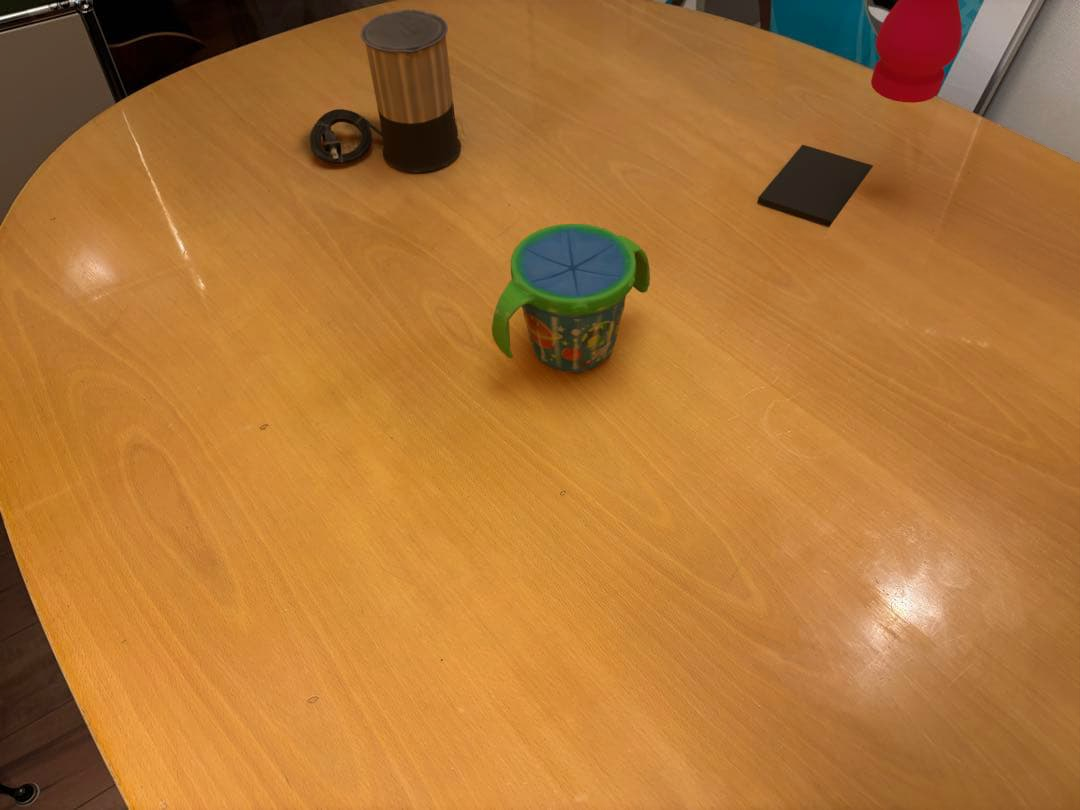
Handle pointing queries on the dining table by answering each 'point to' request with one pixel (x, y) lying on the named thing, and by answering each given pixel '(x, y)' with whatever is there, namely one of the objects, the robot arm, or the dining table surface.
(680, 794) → the dining table surface
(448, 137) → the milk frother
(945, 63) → the pepper mill
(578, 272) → the snack cup
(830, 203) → the mat
